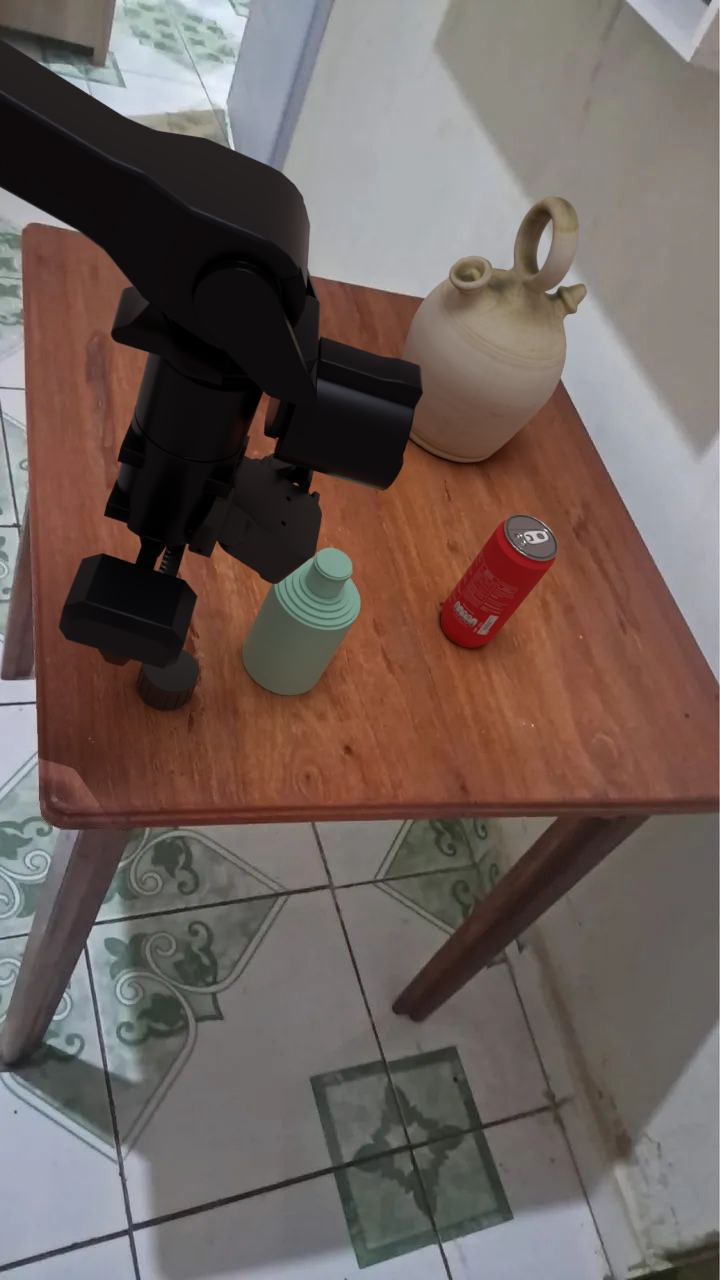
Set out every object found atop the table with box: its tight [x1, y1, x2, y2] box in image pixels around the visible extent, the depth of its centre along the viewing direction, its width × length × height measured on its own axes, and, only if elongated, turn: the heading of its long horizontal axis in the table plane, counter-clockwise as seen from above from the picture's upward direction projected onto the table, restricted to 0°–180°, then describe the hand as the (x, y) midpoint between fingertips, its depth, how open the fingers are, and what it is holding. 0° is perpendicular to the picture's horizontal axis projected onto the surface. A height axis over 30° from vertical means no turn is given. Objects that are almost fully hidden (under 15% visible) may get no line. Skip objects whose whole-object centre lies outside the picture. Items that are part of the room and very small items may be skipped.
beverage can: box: [440, 513, 559, 649], centre depth 78 cm, size 5×5×12 cm
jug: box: [401, 195, 588, 464], centre depth 90 cm, size 15×16×25 cm
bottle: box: [241, 547, 361, 696], centre depth 69 cm, size 6×6×12 cm
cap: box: [135, 648, 200, 711], centre depth 67 cm, size 4×4×2 cm
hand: (133, 605), depth 60 cm, fingers open, 9 cm apart
